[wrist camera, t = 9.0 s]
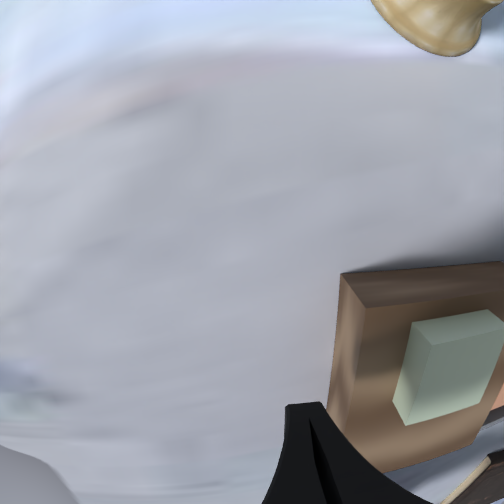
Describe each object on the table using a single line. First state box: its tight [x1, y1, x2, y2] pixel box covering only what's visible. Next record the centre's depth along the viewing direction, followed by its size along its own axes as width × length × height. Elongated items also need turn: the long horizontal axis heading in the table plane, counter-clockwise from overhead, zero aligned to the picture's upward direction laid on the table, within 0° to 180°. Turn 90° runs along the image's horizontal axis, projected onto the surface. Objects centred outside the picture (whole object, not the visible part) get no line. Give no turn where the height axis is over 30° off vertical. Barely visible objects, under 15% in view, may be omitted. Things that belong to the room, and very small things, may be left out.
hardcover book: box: [440, 450, 504, 504], centre depth 28 cm, size 16×23×2 cm
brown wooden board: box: [326, 261, 504, 473], centre depth 17 cm, size 14×12×4 cm
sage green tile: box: [392, 309, 504, 426], centre depth 13 cm, size 5×5×2 cm
